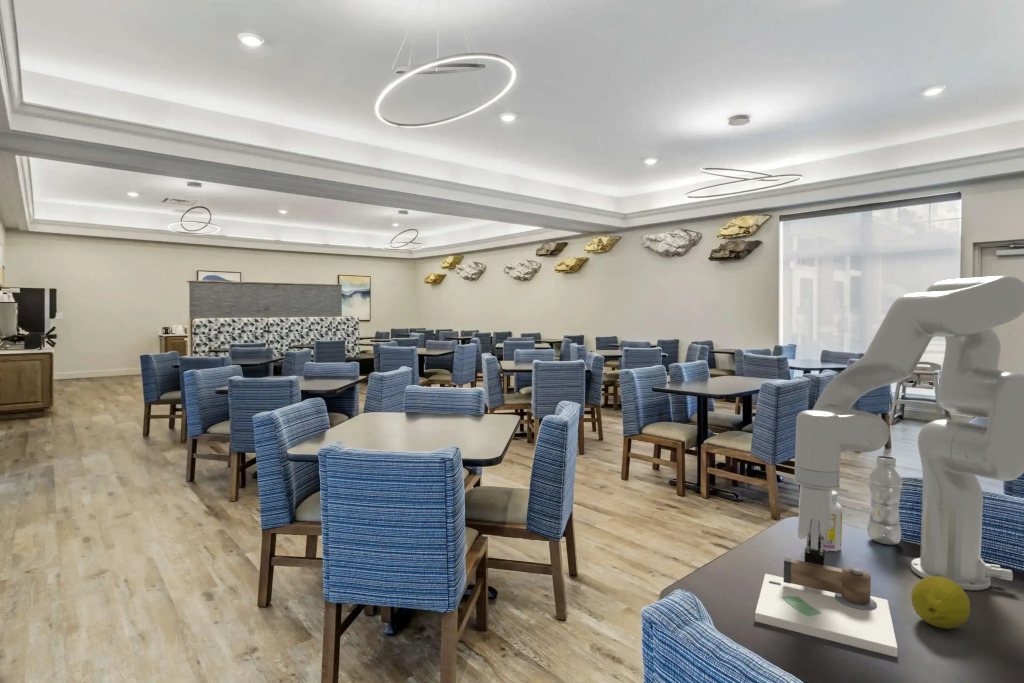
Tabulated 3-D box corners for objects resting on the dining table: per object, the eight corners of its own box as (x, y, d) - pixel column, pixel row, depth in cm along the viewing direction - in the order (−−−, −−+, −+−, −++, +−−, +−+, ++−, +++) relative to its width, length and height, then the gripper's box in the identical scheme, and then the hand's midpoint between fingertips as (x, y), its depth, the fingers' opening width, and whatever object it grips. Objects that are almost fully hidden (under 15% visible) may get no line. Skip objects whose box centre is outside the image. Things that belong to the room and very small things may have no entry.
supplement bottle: (823, 539, 130) (824, 485, 130) (848, 550, 124) (849, 494, 124) (801, 543, 128) (802, 488, 128) (825, 554, 122) (826, 497, 121)
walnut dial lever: (869, 595, 99) (870, 568, 99) (870, 606, 95) (871, 577, 95) (784, 577, 106) (785, 551, 106) (782, 586, 102) (783, 560, 102)
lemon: (926, 607, 99) (928, 563, 99) (980, 627, 93) (982, 581, 92) (896, 623, 94) (898, 577, 94) (951, 646, 87) (953, 597, 87)
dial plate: (887, 607, 99) (887, 598, 99) (897, 657, 84) (897, 646, 84) (765, 581, 109) (765, 572, 109) (755, 621, 94) (755, 611, 94)
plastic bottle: (906, 549, 125) (909, 461, 124) (873, 546, 126) (876, 460, 126) (893, 538, 131) (895, 455, 131) (861, 536, 133) (864, 453, 132)
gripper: (796, 465, 113) (794, 554, 113) (792, 483, 100) (789, 583, 100) (839, 470, 109) (836, 562, 109) (840, 490, 96) (837, 593, 96)
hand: (814, 572), depth 105 cm, fingers closed
